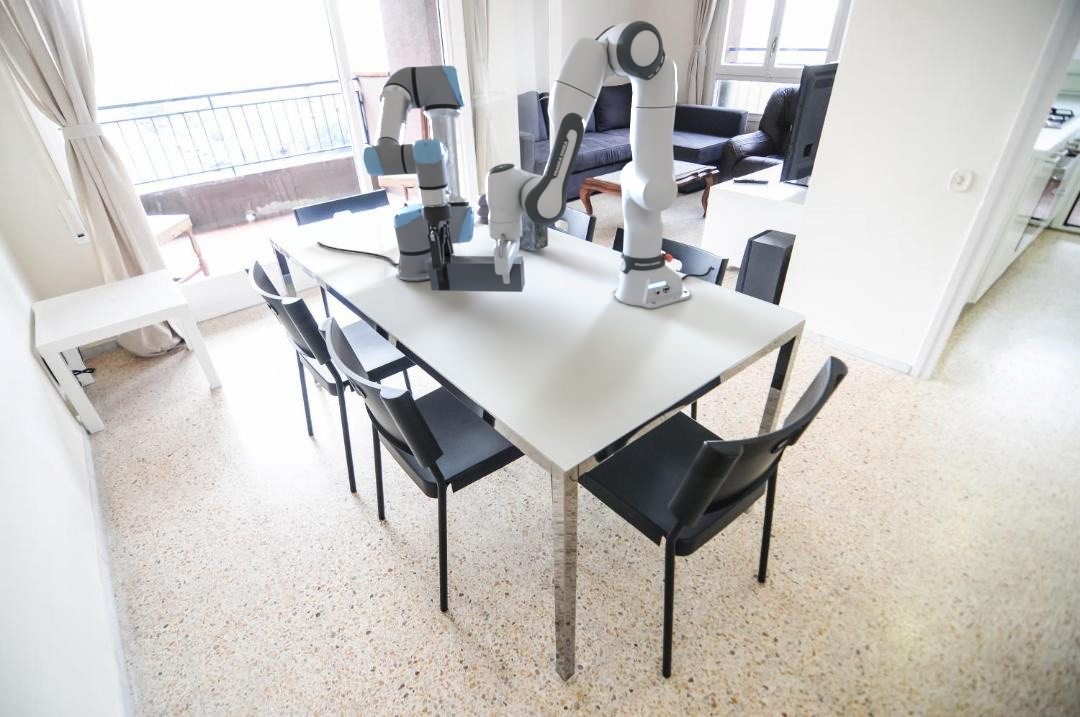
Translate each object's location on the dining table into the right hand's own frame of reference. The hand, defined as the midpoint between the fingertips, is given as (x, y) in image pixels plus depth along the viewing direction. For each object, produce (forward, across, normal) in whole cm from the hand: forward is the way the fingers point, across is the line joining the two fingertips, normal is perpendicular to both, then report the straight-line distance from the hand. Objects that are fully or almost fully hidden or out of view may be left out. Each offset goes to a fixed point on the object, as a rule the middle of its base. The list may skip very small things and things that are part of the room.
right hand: (509, 277), depth 140 cm
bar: (+3, 0, +9) cm, 10 cm away
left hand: (+2, 0, +18) cm, 18 cm away
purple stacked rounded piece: (+12, +96, +27) cm, 100 cm away
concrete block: (+12, +60, +4) cm, 61 cm away
